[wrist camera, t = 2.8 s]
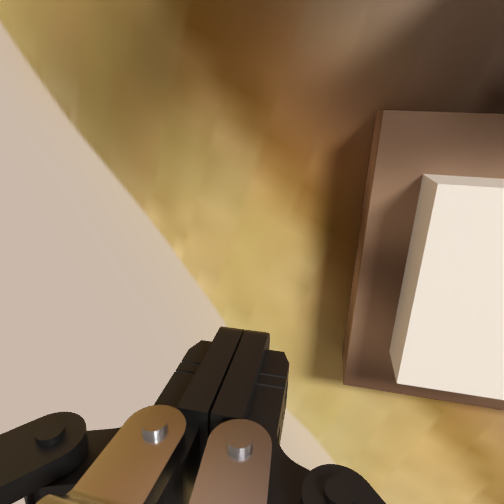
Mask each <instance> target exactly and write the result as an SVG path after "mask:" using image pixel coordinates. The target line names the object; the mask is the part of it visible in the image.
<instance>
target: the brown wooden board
mask: <svg viewBox="0 0 504 504" xmlns="http://www.w3.org/2000/svg"><path fill="white" fill-rule="evenodd" d="M423 174H432V175H448V176H465V177H481V178H498V179H504V114H492V113H461V112H429V111H398V110H379V111H376V116H375V123H374V130H373V137H372V144H371V152H370V159H369V166H368V173H367V180H366V187H365V194H364V202H363V209H362V216H361V223H360V230H359V237H358V245H357V252H356V259H355V266H354V273H353V280H352V288H351V295H350V302H349V309H348V316H347V323H346V331H345V338H344V345H343V352H342V354H343V383H344V385H350V386H357V387H363V388H369V389H375V390H381V391H388V392H394V393H400V394H406V395H412V396H419V397H425V398H431V399H437V400H443V401H450V402H456V403H462V404H468V405H475V406H481V407H487V408H493V409H499V410H504V400H500V399H493V398H487V397H481V396H474V395H468V394H461V393H455V392H449V391H442V390H436V389H429V388H423V387H417V386H410V385H404V384H398V383H396V378H395V374H394V370H393V365H392V361H391V357H390V352H389V350H390V344H391V339H392V334H393V329H394V324H395V318H396V313H397V308H398V303H399V297H400V292H401V287H402V282H403V277H404V271H405V266H406V261H407V256H408V250H409V245H410V240H411V235H412V230H413V224H414V219H415V214H416V209H417V203H418V198H419V193H420V188H421V182H422V177H423Z"/></svg>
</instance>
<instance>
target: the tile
mask: <svg viewBox="0 0 504 504" xmlns="http://www.w3.org/2000/svg"><path fill="white" fill-rule="evenodd" d="M389 352H390V357H391V361H392V365H393V370H394V374H395V378H396V383H398V384H404V385H410V386H417V387H423V388H429V389H436V390H442V391H449V392H455V393H461V394H468V395H474V396H481V397H487V398H493V399H500V400H504V179H498V178H481V177H465V176H448V175H432V174H423V177H422V182H421V188H420V193H419V198H418V203H417V209H416V214H415V219H414V224H413V230H412V235H411V240H410V245H409V250H408V256H407V261H406V266H405V271H404V277H403V282H402V287H401V292H400V297H399V303H398V308H397V313H396V318H395V324H394V329H393V334H392V339H391V344H390V350H389Z"/></svg>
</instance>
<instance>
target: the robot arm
mask: <svg viewBox="0 0 504 504" xmlns="http://www.w3.org/2000/svg"><path fill="white" fill-rule="evenodd" d="M269 343H270V334H269V333H266V332H258V331H251V330H243V329H236V328H228V327H220V328H219V330H218V332H217V334H216V336H215V338H214V339H213V341H212V342H210V341H203V340H201V341H200V342H199V343H197V344H196V345H194V346H193V347H191V348H190V349H189V350H188V352H187V353H186V355H185V356H184V358H183V360H182V363H180V364H179V366H178V368H177V369H176V372H174V374H173V376H172V377H171V379H170V380H169V382H168V384H167V385H166V387H165V388H164V390H163V392H162V393H161V395H160V396H159V398H158V399H157V401H156V403H155V404H154V405H153V406H149V407H146V408H143V409H141V410H139V411H137V412H136V413H134V414H133V415H132V416H131V417H130V418H129V419H128V420H127V421H126V422H125V423H124V425H123V426H122V427H120V428H116V429H105V430H93V431H87V430H86V424H85V421H84V419H83V418H82V417H81V416H80V415H78V414H75V413H72V412H58V413H53V414H49V415H46V416H43V417H41V418H38V419H36V420H34V421H31V422H29V423H27V424H24V425H22V426H20V427H17V428H15V429H13V430H10V431H8V432H6V433H3V434H1V435H0V504H12V503H14V502H16V501H18V500H20V499H22V498H23V497H24V499H25V502H26V504H386V503H385V502H384V501H383V500H382V499H381V497H380V496H379V495H378V494H377V493H376V492H375V490H374V489H373V488H372V487H371V486H370V484H369V483H368V482H367V481H366V480H365V479H364V478H363V477H362V476H361V475H359V474H358V473H357V472H355V471H353V470H352V469H349V468H347V467H344V466H341V465H335V464H326V465H321V466H318V467H316V468H314V469H312V470H311V471H309V470H308V469H306V468H304V467H302V466H300V465H298V464H296V463H295V462H294V461H292V460H291V459H290V458H289V457H288V456H287V455H286V454H285V453H284V452H283V450H282V449H281V447H280V439H281V433H282V427H283V420H284V415H285V409H286V399H287V386H288V373H289V362H288V360H287V358H286V355H285V353H284V352H280V351H273V350H269Z"/></svg>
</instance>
